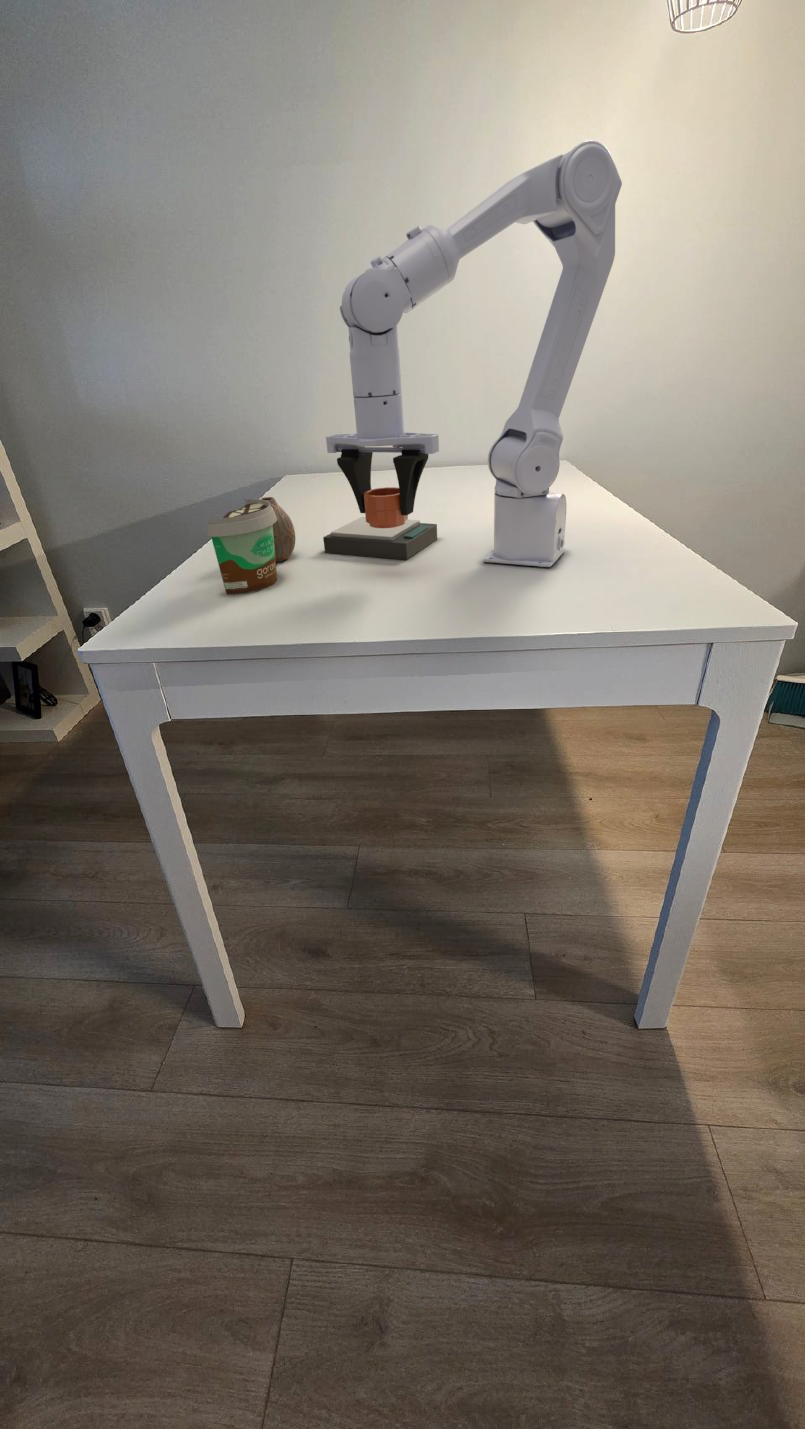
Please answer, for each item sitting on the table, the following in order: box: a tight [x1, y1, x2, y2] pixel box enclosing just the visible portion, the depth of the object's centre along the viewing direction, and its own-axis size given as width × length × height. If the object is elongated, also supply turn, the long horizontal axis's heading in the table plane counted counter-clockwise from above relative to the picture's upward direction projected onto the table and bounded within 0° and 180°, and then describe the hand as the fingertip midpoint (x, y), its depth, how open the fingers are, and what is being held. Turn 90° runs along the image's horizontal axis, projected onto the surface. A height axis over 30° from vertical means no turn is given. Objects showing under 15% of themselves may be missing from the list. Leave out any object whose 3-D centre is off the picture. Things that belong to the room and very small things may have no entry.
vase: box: [259, 496, 296, 563], centre depth 95 cm, size 7×7×9 cm
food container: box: [206, 497, 278, 595], centre depth 85 cm, size 12×6×10 cm, turn 168°
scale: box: [322, 516, 438, 561], centre depth 99 cm, size 14×11×3 cm
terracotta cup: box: [364, 486, 409, 528], centre depth 82 cm, size 5×6×4 cm
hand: (386, 512), depth 83 cm, fingers closed on terracotta cup, 5 cm apart
